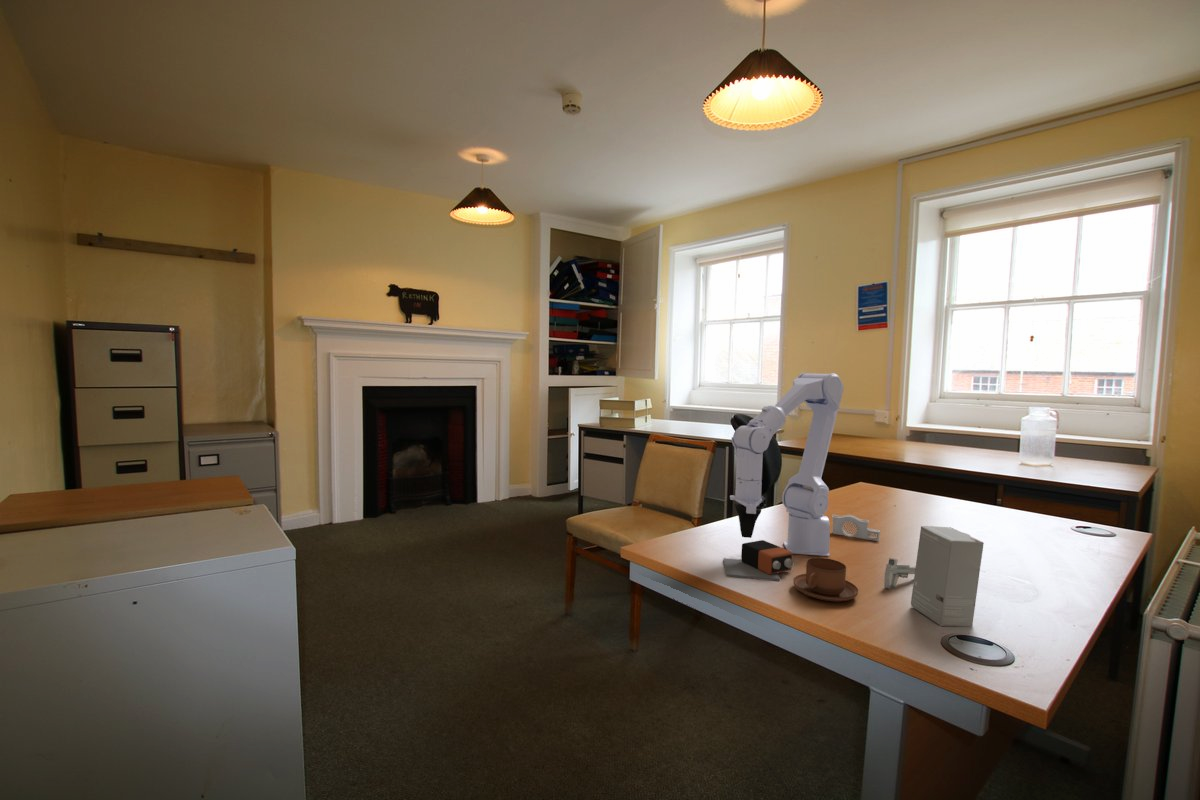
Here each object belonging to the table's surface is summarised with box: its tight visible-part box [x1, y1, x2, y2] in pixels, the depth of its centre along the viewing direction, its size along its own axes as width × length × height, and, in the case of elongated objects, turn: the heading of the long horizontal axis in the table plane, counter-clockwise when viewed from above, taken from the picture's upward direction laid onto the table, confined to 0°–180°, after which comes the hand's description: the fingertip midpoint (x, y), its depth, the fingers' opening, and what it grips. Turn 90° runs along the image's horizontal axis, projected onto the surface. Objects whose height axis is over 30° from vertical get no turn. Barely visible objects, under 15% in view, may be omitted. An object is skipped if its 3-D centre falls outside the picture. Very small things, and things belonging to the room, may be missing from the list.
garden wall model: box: [831, 513, 881, 542], centre depth 146 cm, size 12×2×6 cm, turn 56°
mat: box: [723, 557, 781, 582], centre depth 120 cm, size 11×10×1 cm
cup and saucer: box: [792, 557, 859, 603], centre depth 108 cm, size 12×12×6 cm
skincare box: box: [910, 525, 985, 627], centre depth 98 cm, size 8×7×16 cm
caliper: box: [883, 557, 916, 590], centre depth 116 cm, size 21×1×6 cm, turn 122°
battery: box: [740, 539, 794, 575], centre depth 120 cm, size 4×7×10 cm
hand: (746, 536), depth 124 cm, fingers closed
